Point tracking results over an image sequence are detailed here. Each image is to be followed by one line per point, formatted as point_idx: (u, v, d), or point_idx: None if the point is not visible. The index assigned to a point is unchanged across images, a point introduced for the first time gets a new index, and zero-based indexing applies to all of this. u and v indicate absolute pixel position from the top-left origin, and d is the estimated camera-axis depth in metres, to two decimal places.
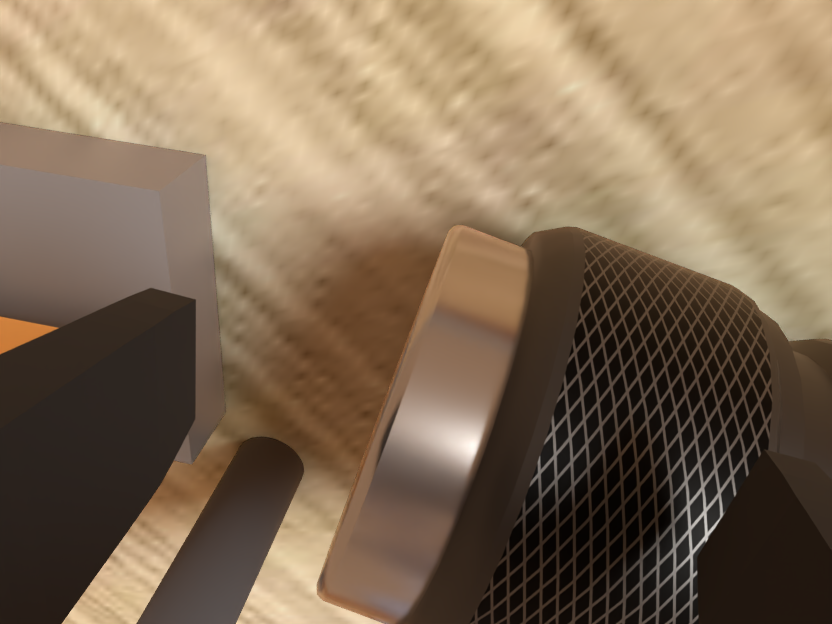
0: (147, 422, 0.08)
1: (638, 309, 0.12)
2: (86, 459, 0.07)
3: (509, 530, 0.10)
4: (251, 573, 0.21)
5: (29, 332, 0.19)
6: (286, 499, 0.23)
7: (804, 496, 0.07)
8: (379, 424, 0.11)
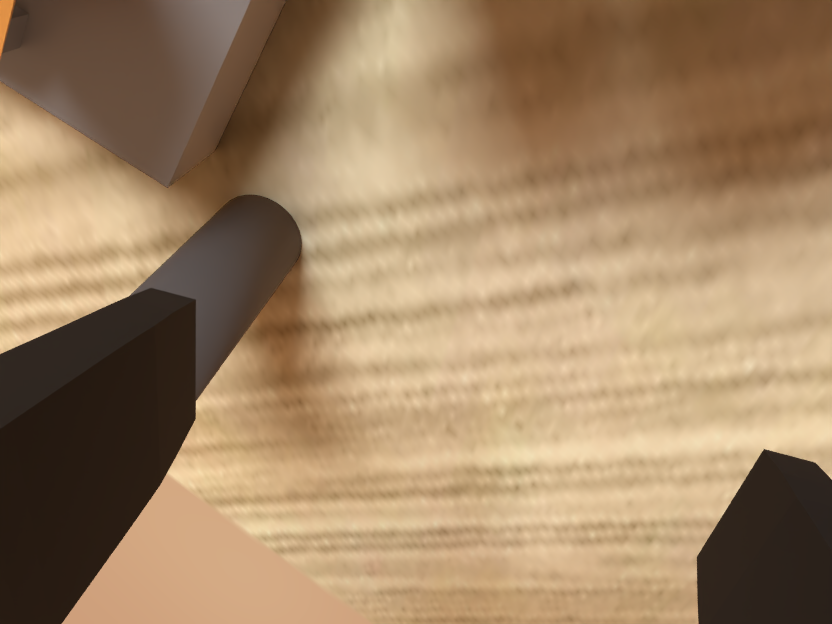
0: (147, 422, 0.08)
1: None
2: (86, 459, 0.07)
3: None
4: None
5: None
6: None
7: (804, 496, 0.07)
8: None
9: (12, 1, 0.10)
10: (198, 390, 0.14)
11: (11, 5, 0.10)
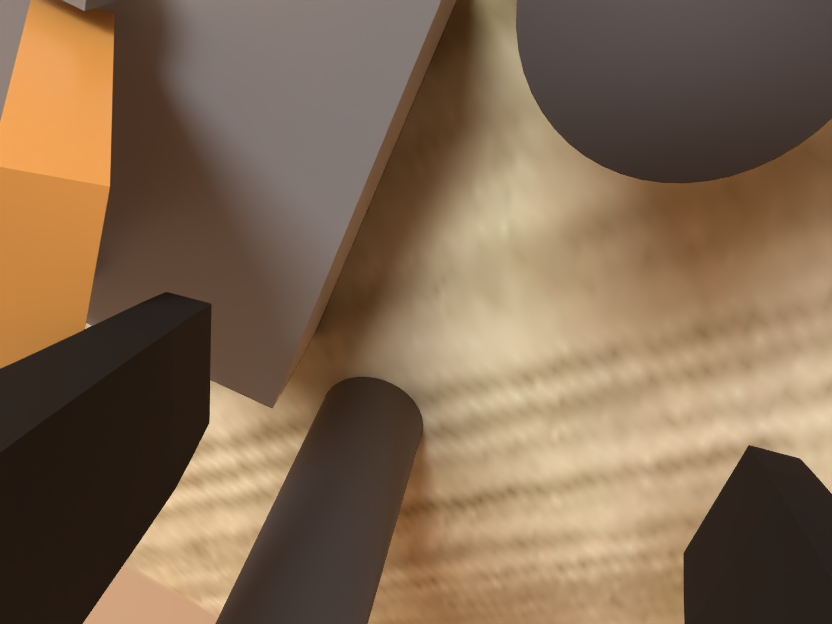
0: (163, 427, 0.08)
1: None
2: (105, 464, 0.07)
3: None
4: None
5: None
6: None
7: (787, 491, 0.07)
8: None
9: (84, 320, 0.08)
10: None
11: (83, 322, 0.08)
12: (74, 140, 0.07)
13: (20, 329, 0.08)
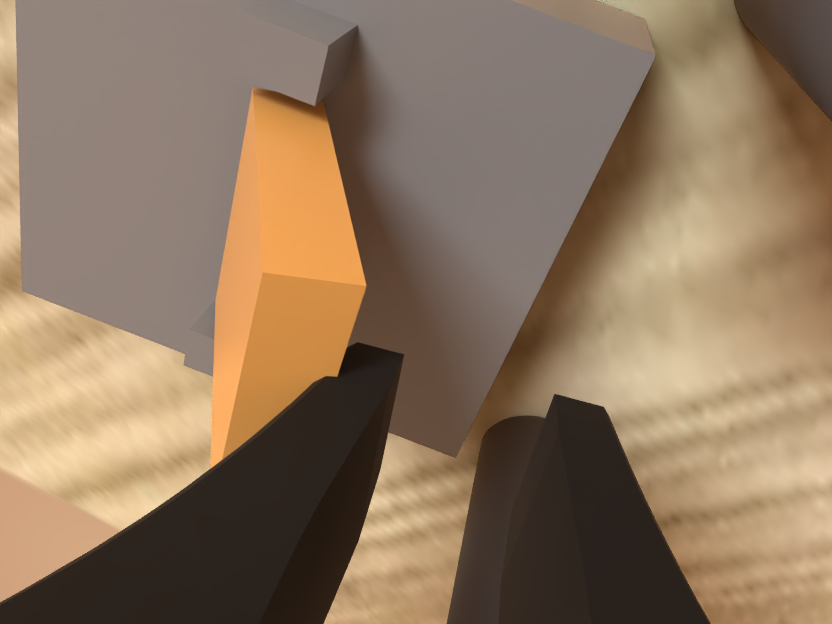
0: (366, 483, 0.08)
1: None
2: (336, 530, 0.07)
3: None
4: None
5: (235, 191, 0.11)
6: None
7: (568, 433, 0.08)
8: None
9: None
10: None
11: None
12: (324, 239, 0.07)
13: (266, 421, 0.08)
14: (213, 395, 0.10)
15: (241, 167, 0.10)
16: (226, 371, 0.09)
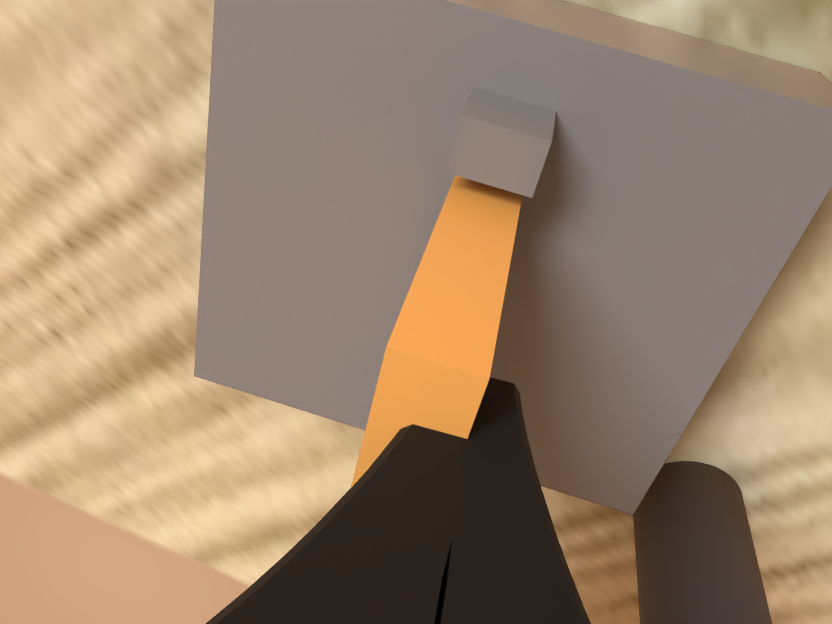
0: None
1: None
2: None
3: None
4: None
5: None
6: None
7: None
8: None
9: None
10: None
11: None
12: (464, 324, 0.07)
13: None
14: None
15: None
16: None
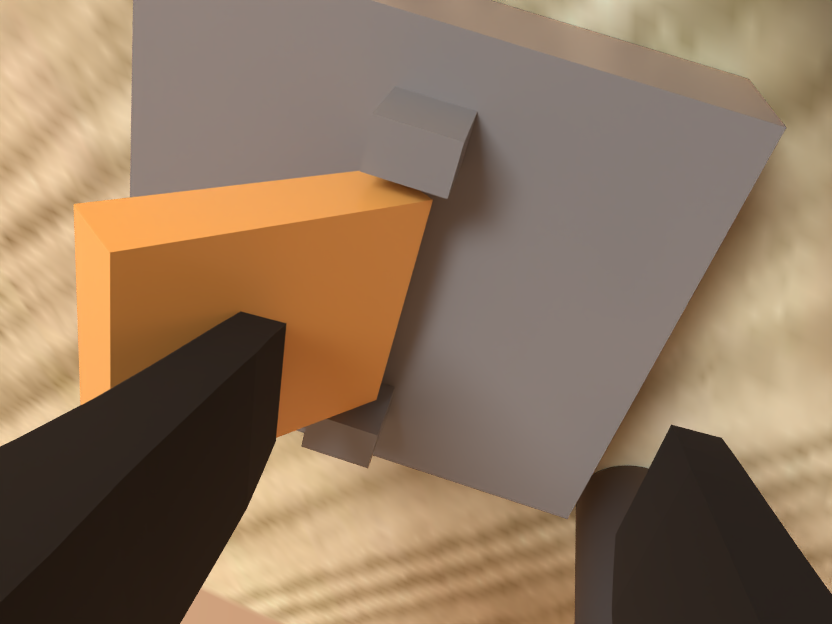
0: (242, 448, 0.08)
1: None
2: (194, 490, 0.07)
3: None
4: None
5: None
6: None
7: (700, 468, 0.07)
8: None
9: (108, 381, 0.08)
10: None
11: (112, 385, 0.08)
12: (166, 225, 0.08)
13: (90, 365, 0.09)
14: None
15: None
16: None
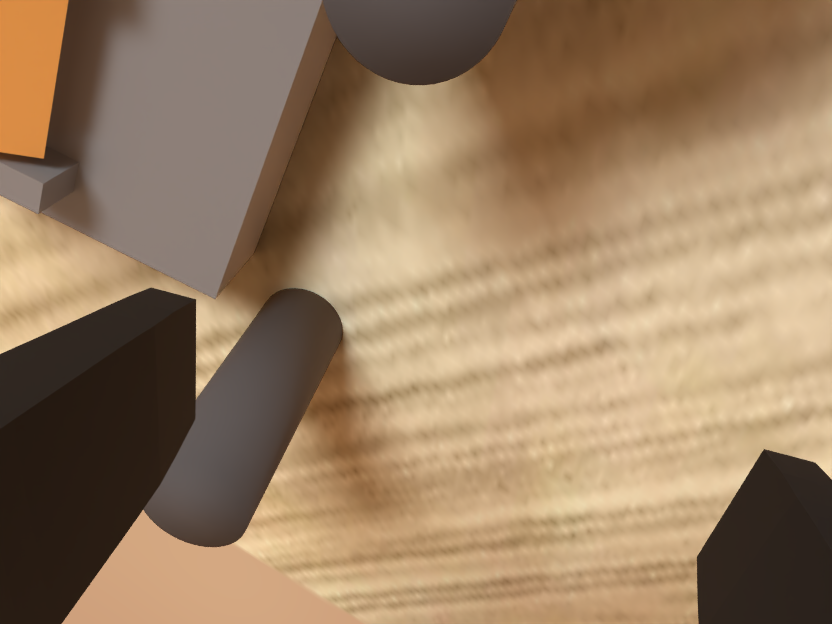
0: (147, 422, 0.08)
1: None
2: (86, 459, 0.07)
3: None
4: None
5: None
6: None
7: (804, 496, 0.07)
8: None
9: None
10: (261, 491, 0.15)
11: None
12: None
13: None
14: None
15: None
16: None
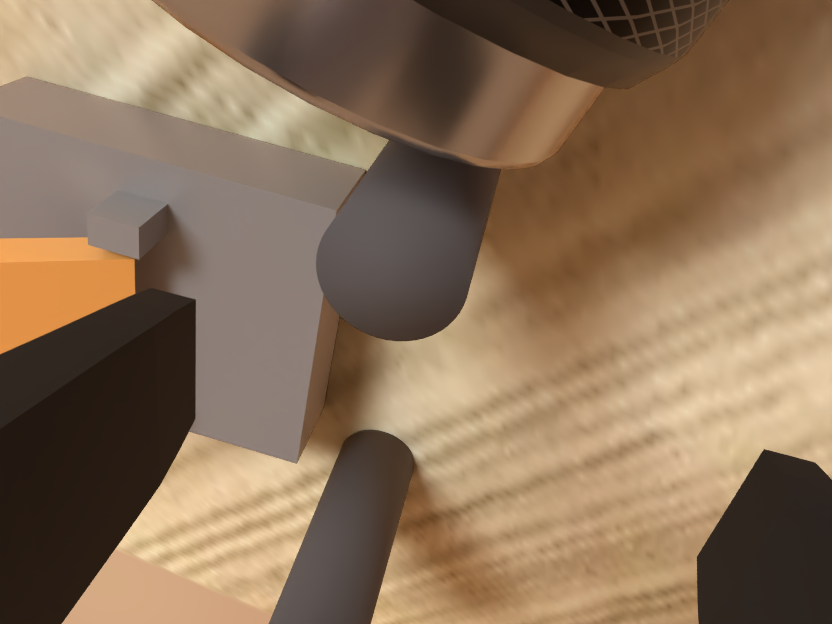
0: (147, 422, 0.08)
1: None
2: (86, 459, 0.07)
3: (640, 49, 0.08)
4: None
5: None
6: None
7: (804, 496, 0.07)
8: None
9: None
10: None
11: None
12: None
13: None
14: None
15: None
16: None
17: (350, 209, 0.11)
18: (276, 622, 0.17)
